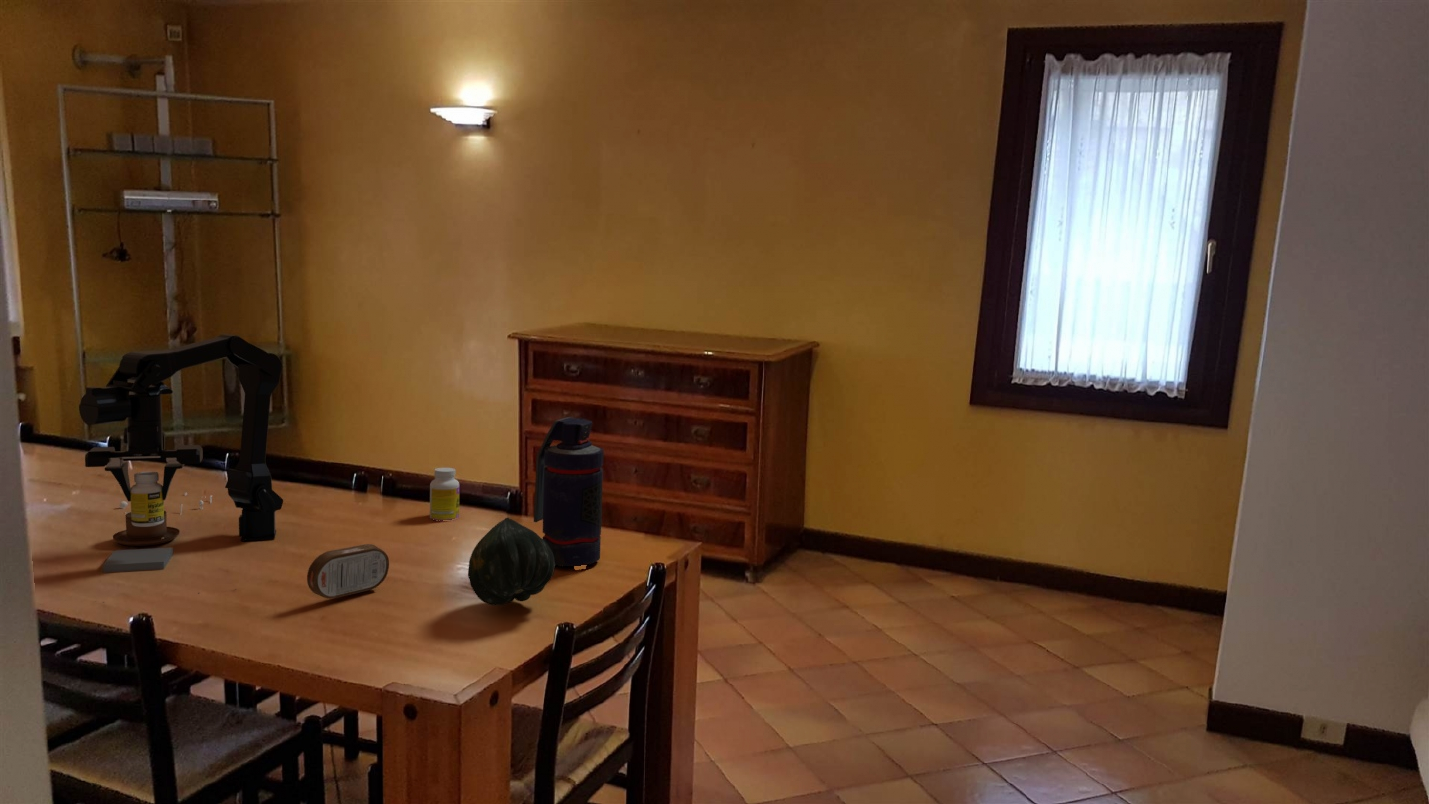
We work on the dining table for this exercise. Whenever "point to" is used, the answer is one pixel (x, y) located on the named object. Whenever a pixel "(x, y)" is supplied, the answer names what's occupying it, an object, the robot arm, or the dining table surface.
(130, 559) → the charcoal block
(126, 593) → the dining table surface
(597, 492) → the grenade
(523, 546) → the squash
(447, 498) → the supplement bottle
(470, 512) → the dining table surface
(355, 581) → the tin
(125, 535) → the cup and saucer
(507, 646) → the dining table surface
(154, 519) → the supplement bottle
